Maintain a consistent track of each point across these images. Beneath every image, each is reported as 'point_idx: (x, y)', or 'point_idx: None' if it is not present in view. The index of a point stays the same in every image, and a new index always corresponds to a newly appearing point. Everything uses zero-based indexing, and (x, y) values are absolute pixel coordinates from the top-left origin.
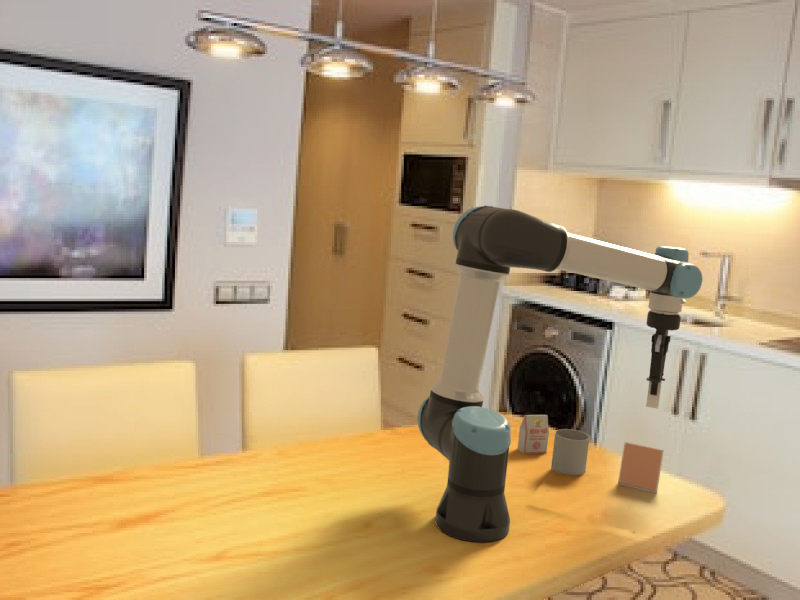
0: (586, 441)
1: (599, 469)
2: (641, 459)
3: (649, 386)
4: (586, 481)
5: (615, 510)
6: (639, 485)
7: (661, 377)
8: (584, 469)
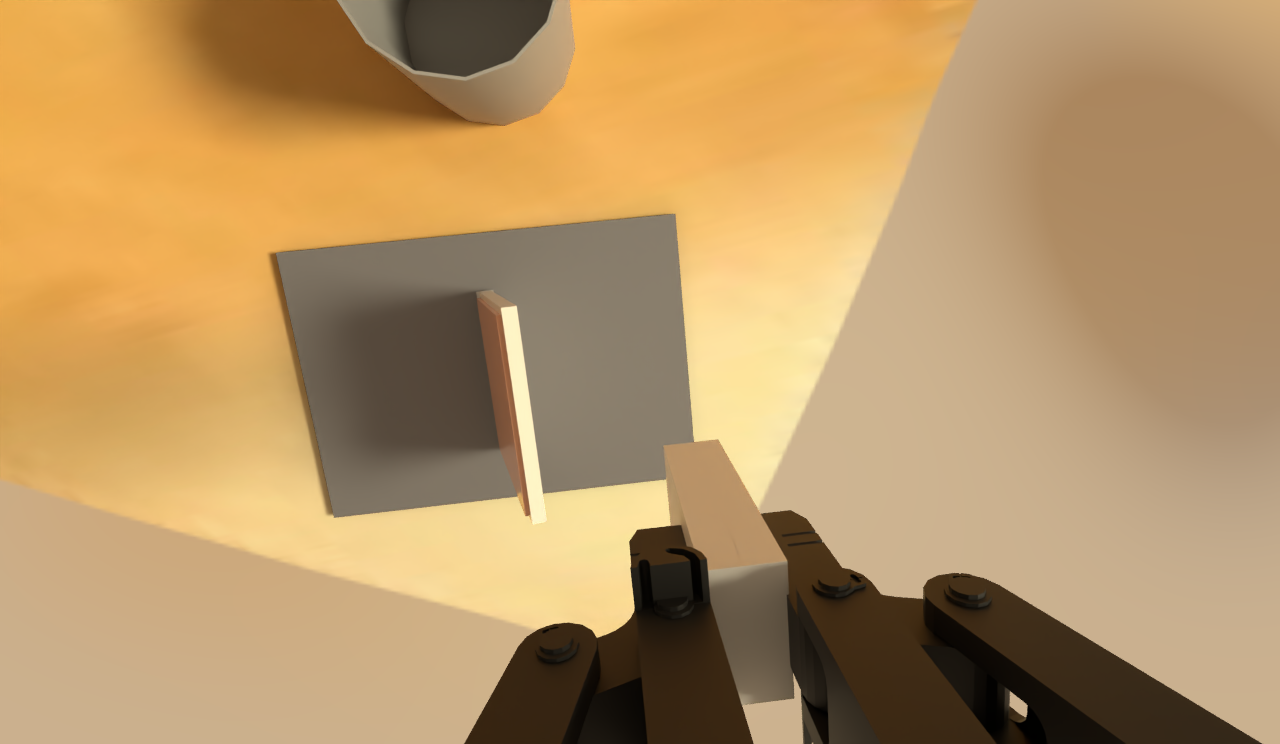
0: (421, 77)
1: (653, 155)
2: (502, 401)
3: (691, 540)
4: (454, 151)
5: (236, 350)
6: (490, 385)
7: (807, 730)
8: (483, 116)
